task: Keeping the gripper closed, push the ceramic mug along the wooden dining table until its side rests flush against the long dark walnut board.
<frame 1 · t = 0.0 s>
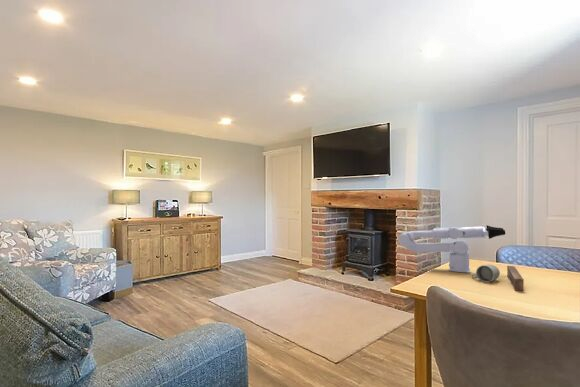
hand: (504, 231, 162), 22 cm above the table, tool horizontal, fingers open, 7 cm apart
ceramic mug: (485, 280, 153), on the table
walnut board: (514, 283, 147), on the table
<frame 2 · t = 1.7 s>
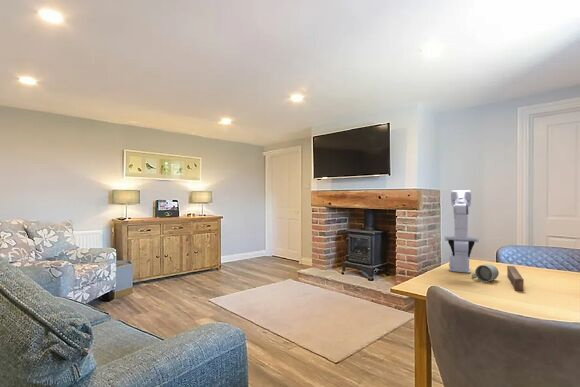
hand: (461, 256, 157), 10 cm above the table, tool pointing down, fingers open, 6 cm apart
nothing on the table moved.
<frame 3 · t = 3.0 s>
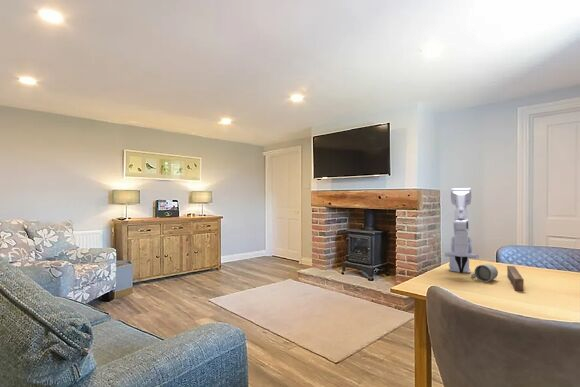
hand: (461, 272, 157), 3 cm above the table, tool pointing down, fingers closed
nothing on the table moved.
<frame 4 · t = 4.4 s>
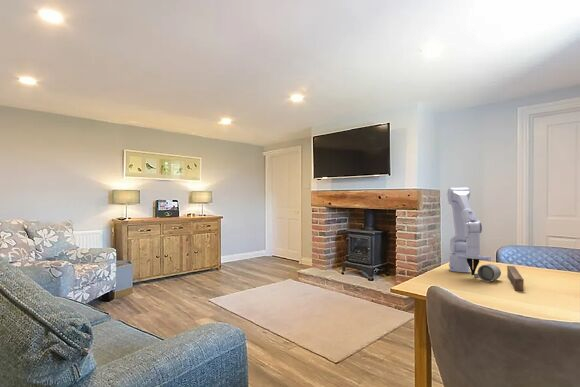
hand: (473, 274, 155), 2 cm above the table, tool pointing down, fingers closed
ceramic mug: (486, 280, 153), on the table, touching gripper
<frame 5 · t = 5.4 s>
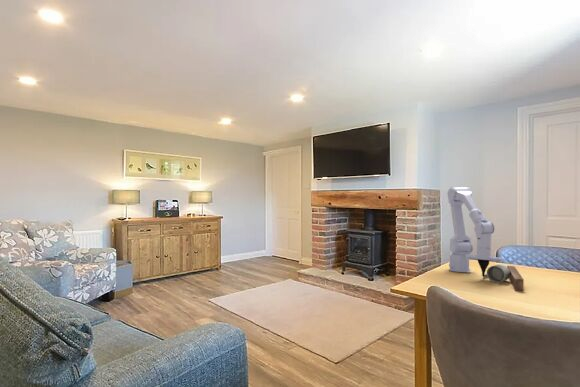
hand: (483, 276, 153), 2 cm above the table, tool pointing down, fingers closed, pressing on ceramic mug
ceramic mug: (495, 281, 152), on the table, touching gripper, walnut board
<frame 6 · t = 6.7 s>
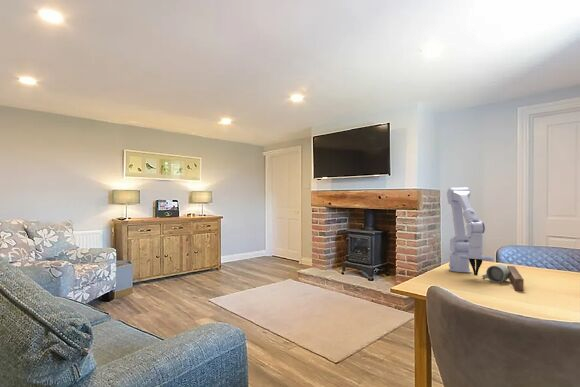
hand: (475, 275, 155), 2 cm above the table, tool pointing down, fingers closed
ceramic mug: (495, 281, 152), on the table
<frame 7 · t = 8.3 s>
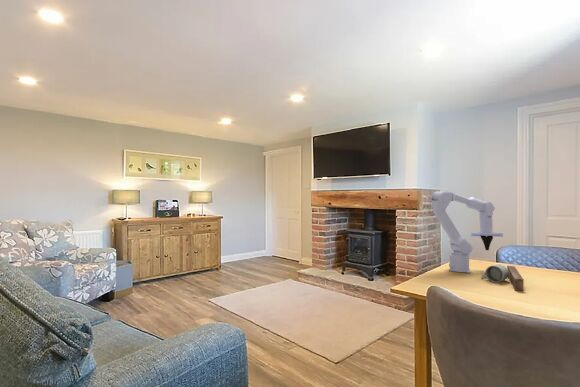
hand: (487, 249, 172), 10 cm above the table, tool pointing down, fingers closed
nothing on the table moved.
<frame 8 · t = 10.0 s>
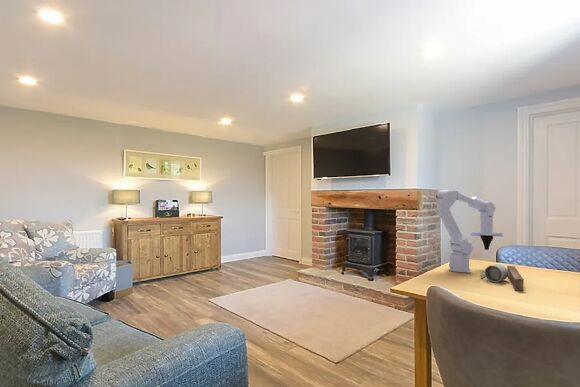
hand: (486, 249, 174), 10 cm above the table, tool pointing down, fingers closed
nothing on the table moved.
at the end: ceramic mug inside the target area on the table beside the walnut board (1.6 cm from its centre), on the table; ceramic mug tilted 0°; ceramic mug moved 3.6 cm from its start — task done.
